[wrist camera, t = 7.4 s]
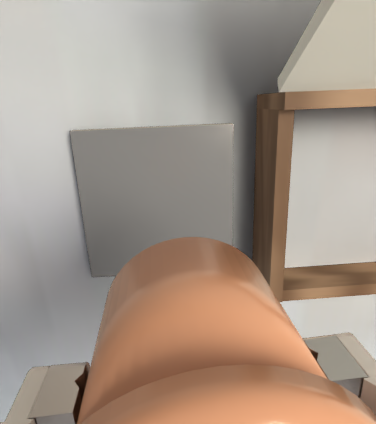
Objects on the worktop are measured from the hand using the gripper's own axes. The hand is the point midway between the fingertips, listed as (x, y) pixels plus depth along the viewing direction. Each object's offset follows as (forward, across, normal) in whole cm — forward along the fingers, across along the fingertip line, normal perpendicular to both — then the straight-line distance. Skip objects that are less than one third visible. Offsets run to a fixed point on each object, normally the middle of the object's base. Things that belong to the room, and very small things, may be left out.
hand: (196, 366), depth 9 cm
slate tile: (+18, +1, 0) cm, 18 cm away
